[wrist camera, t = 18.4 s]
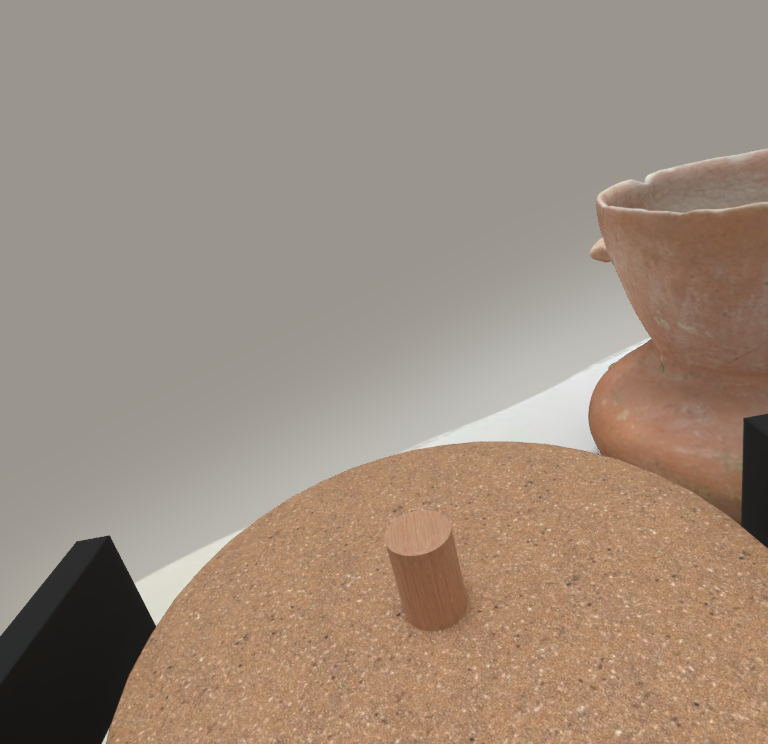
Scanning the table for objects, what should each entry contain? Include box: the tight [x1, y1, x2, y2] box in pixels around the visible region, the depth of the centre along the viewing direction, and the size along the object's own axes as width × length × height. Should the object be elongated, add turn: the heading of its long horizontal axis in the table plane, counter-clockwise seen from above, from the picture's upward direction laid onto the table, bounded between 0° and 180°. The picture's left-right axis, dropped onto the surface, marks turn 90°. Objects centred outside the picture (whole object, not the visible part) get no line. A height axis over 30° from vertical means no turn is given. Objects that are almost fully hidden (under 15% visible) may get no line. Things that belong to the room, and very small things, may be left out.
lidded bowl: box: [106, 442, 768, 744], centre depth 10 cm, size 11×11×9 cm
